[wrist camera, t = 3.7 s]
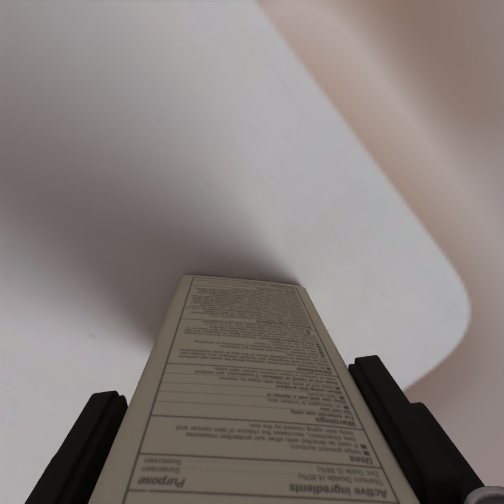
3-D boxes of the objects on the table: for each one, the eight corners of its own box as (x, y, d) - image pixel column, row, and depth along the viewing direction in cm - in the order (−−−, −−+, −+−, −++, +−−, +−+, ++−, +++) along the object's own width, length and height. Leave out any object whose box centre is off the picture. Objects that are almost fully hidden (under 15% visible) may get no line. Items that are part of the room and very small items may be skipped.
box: (173, 367, 16) (38, 790, 5) (182, 269, 15) (34, 554, 4) (297, 379, 16) (400, 805, 6) (313, 284, 15) (479, 586, 5)
